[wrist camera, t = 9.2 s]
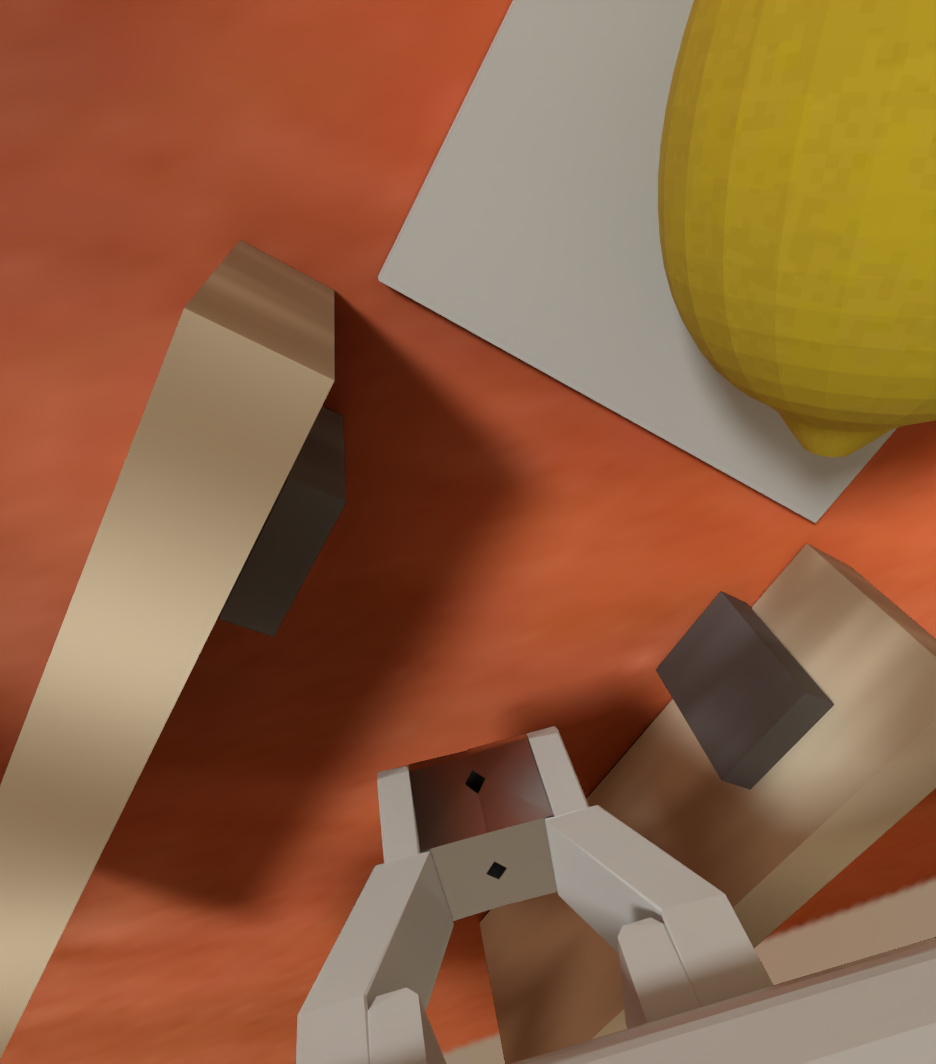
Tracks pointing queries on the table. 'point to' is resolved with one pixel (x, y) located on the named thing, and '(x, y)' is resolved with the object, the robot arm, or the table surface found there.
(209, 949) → the table surface
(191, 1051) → the table surface
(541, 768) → the robot arm
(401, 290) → the grey ledged plate
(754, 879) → the chute
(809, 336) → the lemon
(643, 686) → the table surface
